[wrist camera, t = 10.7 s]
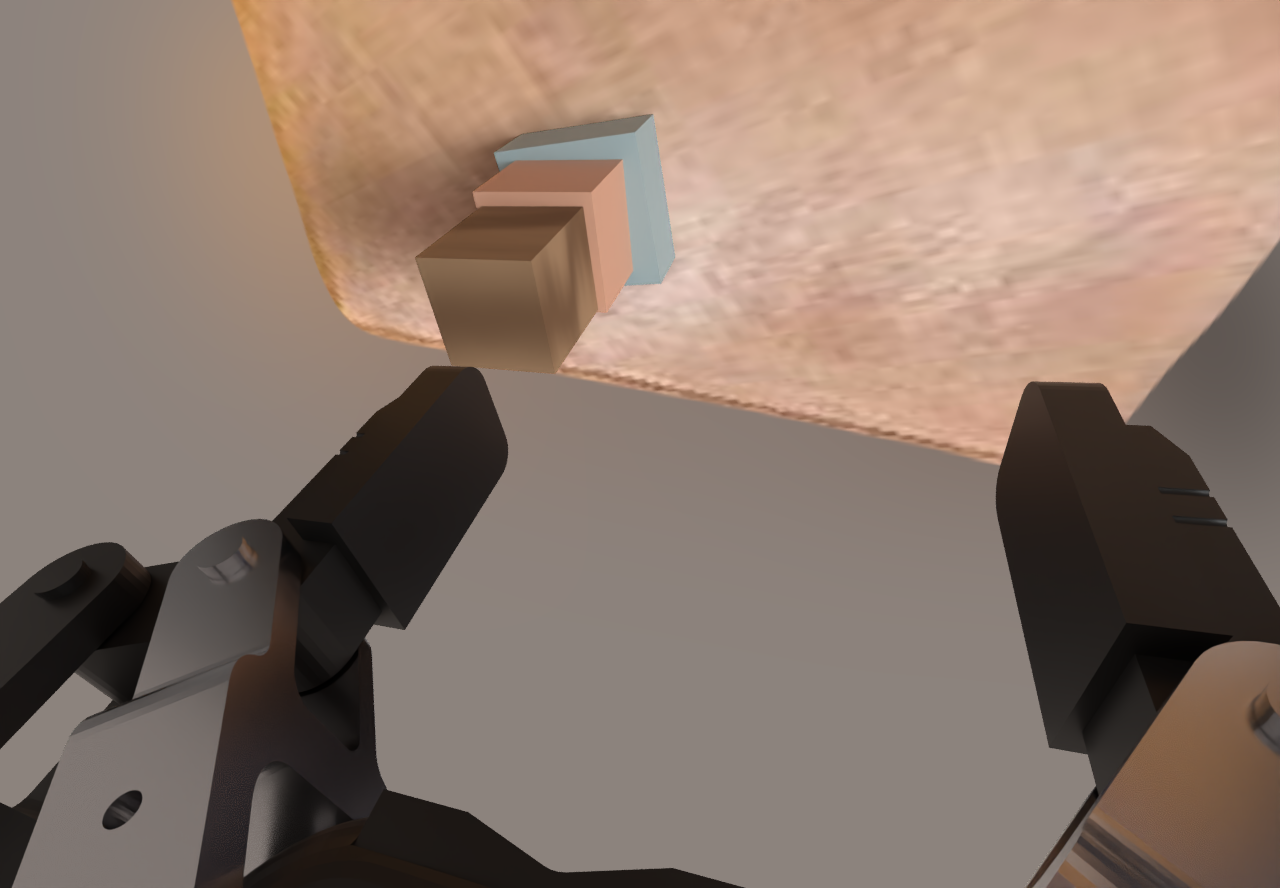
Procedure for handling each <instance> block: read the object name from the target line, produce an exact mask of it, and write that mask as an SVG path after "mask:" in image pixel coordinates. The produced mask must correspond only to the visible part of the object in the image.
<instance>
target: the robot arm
mask: <svg viewBox="0 0 1280 888" xmlns="http://www.w3.org/2000/svg"><path fill="white" fill-rule="evenodd" d="M507 458H508V444H507V439H506V436H505V433H504V430H503V428H502V425H501V422H500V420H499V417H498V414H497V412H496V409H495V406H494V403H493V401H492V398H491V395H490V393H489V390H488V387H487V385H486V382H485V380H484V377H483V375H482V374H481V373H480V371H479V370H477V369H476V368H474V367H460V366H430V367H428V368H426V369H425V370H424V371H423V372H422V373H421V374H420V375H419V377H418V378H417V379H416V380H415V381H414V382H413V383H412V384H411V385H410V386H409V387H408V388H407V389H406V391H405V392H404V393H403V394H402V395H401V396H400V397H399V398H397V399H395V400H394V401H392V402H391V403H389V404H388V405H386V406H385V407H383V408H382V409H380V410H379V411H377V412H376V413H375V414H374V415H373V416H372V417H371V418H370V419H369V420H368V421H367V422H366V423H365V425H363V426H362V427H361V428H360V430H359V431H358V432H357V436H356V437H352V438H351V439H350V440H349V441H348V442H347V443H346V445H344V446H343V447H342V448H341V449H340V455H335V456H334V457H333V458H332V459H331V460H330V461H329V462H328V463H327V464H326V465H325V466H324V467H323V468H322V469H321V470H320V472H319V473H318V474H317V475H316V476H315V477H314V478H313V479H312V480H311V481H310V482H309V483H308V484H307V485H306V486H305V487H304V488H303V489H302V490H301V492H300V493H299V494H298V495H297V496H296V497H295V498H294V499H293V500H292V501H291V502H290V503H289V504H288V505H287V506H286V507H285V508H284V509H283V511H282V512H281V513H280V514H279V515H278V516H277V517H276V518H275V519H274V520H273V521H270V520H266V519H251V520H247V521H242V522H238V523H235V524H232V525H230V526H227V527H225V528H223V529H221V530H219V531H217V532H215V533H213V534H211V535H210V536H208V537H206V538H205V539H204V540H202V541H201V542H199V543H198V544H197V545H195V546H194V547H193V548H192V549H191V550H190V551H189V552H188V553H187V554H186V555H185V556H184V557H183V558H182V559H181V560H180V561H179V562H174V563H168V564H161V565H155V566H150V567H143V566H142V565H141V564H140V563H139V562H138V561H137V560H136V559H135V558H134V557H133V556H132V555H131V554H130V553H129V552H128V551H126V549H124V547H122V546H121V545H119V544H117V543H112V542H111V543H110V542H109V543H99V544H94V545H90V546H86V547H83V548H81V549H78V550H75V551H73V552H71V553H69V554H66V555H65V556H63V557H61V558H59V559H57V560H55V561H54V562H52V563H50V564H49V565H47V566H46V567H44V568H43V569H41V570H40V571H38V572H37V573H36V574H35V575H33V576H32V577H31V578H30V579H28V580H27V581H26V582H25V583H24V584H23V585H21V586H20V587H19V588H18V589H17V590H16V591H14V592H13V593H12V594H11V595H10V596H8V597H7V598H6V599H5V600H4V601H3V602H1V603H0V749H1V748H2V747H3V746H4V745H5V743H6V742H7V741H8V740H9V739H10V738H11V737H12V736H13V735H14V734H15V733H16V732H17V731H18V730H19V729H20V728H21V727H22V726H23V725H24V724H25V723H26V722H27V721H28V720H29V719H30V718H31V717H32V716H33V714H34V713H35V712H36V711H37V710H38V709H39V708H40V707H41V706H42V705H43V704H44V703H45V702H46V701H47V700H48V699H49V698H50V697H51V696H52V695H53V694H54V693H55V691H57V690H58V689H59V688H60V687H61V685H63V683H64V682H65V681H66V680H67V679H68V678H69V677H70V676H71V675H72V674H73V673H74V672H75V673H76V674H78V675H79V676H80V677H82V678H83V679H85V680H86V681H87V682H89V683H90V684H92V685H93V686H94V687H96V688H97V689H99V690H100V691H101V692H103V693H104V694H105V695H107V696H108V697H110V698H111V699H112V700H113V701H112V702H111V703H110V704H109V705H108V706H107V707H106V709H105V710H104V711H102V712H99V713H96V714H94V715H92V716H90V717H87V718H86V719H85V720H83V721H82V722H81V723H80V724H79V725H78V726H77V727H76V728H75V729H74V731H73V732H72V733H71V735H70V736H69V739H68V741H67V743H66V745H65V747H64V750H63V753H62V756H61V758H60V761H59V762H58V763H57V764H56V765H55V766H54V768H52V770H51V771H50V772H49V773H48V774H47V775H46V777H45V778H44V779H43V780H42V781H41V782H40V783H39V784H38V786H37V787H36V788H35V789H34V790H33V791H32V792H31V793H30V794H29V795H28V796H27V797H26V798H25V799H24V800H23V801H22V802H20V803H19V804H17V805H16V806H14V807H13V808H11V807H8V806H6V805H4V804H2V803H0V888H744V887H740V886H736V885H733V884H729V883H725V882H721V881H718V880H714V879H711V878H707V877H703V876H700V875H696V874H692V873H688V872H685V871H681V870H678V869H674V868H665V869H640V870H616V871H591V872H569V873H565V872H556V871H553V870H550V869H548V868H547V867H545V866H543V865H542V864H540V863H539V862H538V861H536V860H535V859H533V858H532V857H531V856H529V855H528V854H526V853H525V852H523V851H522V850H521V849H519V848H518V847H516V846H515V845H514V844H512V843H511V842H509V841H508V840H507V839H505V838H504V837H502V836H501V835H499V834H498V833H497V832H495V831H494V830H492V829H491V828H490V827H488V826H487V825H485V824H484V823H482V822H481V821H480V820H478V819H477V818H476V817H474V816H473V815H471V814H470V813H468V812H465V811H462V810H458V809H454V808H451V807H447V806H444V805H440V804H436V803H433V802H429V801H425V800H422V799H418V798H414V797H411V796H407V795H403V794H400V793H396V792H392V791H388V790H387V788H386V786H385V784H384V781H383V779H382V777H381V774H380V771H379V767H378V763H377V756H376V735H375V713H374V689H373V668H372V651H371V647H370V644H369V642H368V641H367V640H366V639H365V636H366V635H367V633H368V632H369V630H370V629H371V627H372V626H373V624H375V625H380V626H386V627H392V628H397V629H402V630H405V629H406V627H407V626H408V624H409V622H410V621H411V619H412V618H413V616H414V614H415V613H416V611H417V610H418V608H419V606H420V605H421V603H422V602H423V600H424V598H425V597H426V595H427V594H428V592H429V591H430V589H431V587H432V586H433V584H434V582H435V581H436V579H437V578H438V576H439V575H440V573H441V571H442V570H443V568H444V567H445V565H446V563H447V562H448V560H449V558H450V557H451V555H452V554H453V552H454V551H455V549H456V547H457V546H458V544H459V543H460V541H461V539H462V538H463V536H464V535H465V533H466V532H467V530H468V528H469V527H470V525H471V524H472V522H473V520H474V519H475V517H476V516H477V514H478V512H479V511H480V509H481V508H482V506H483V504H484V503H485V501H486V499H487V498H488V496H489V494H490V493H491V492H492V490H493V488H494V487H495V485H496V484H497V482H498V480H499V479H500V477H501V476H502V474H503V472H504V470H505V467H506V464H507ZM1209 491H1210V490H1209V488H1208V486H1207V485H1206V483H1205V481H1204V480H1203V478H1202V476H1201V475H1200V473H1199V471H1198V470H1197V468H1196V466H1195V465H1194V463H1193V461H1192V460H1191V458H1190V456H1189V455H1187V454H1186V453H1185V452H1184V451H1182V450H1181V449H1180V448H1179V447H1177V446H1176V445H1175V444H1173V443H1172V442H1171V441H1170V440H1168V439H1167V438H1166V437H1164V436H1163V435H1162V434H1160V433H1159V432H1158V431H1157V430H1155V429H1154V428H1153V427H1151V426H1138V425H1126V424H1125V422H1124V421H1123V419H1122V417H1121V415H1120V413H1119V411H1118V409H1117V407H1116V405H1115V403H1114V401H1113V399H1112V397H1111V395H1110V393H1109V391H1108V390H1107V388H1106V387H1105V386H1104V385H1103V384H1101V383H1072V382H1030V383H1029V384H1028V385H1027V386H1026V388H1025V389H1024V392H1023V394H1022V397H1021V400H1020V403H1019V407H1018V410H1017V413H1016V416H1015V420H1014V423H1013V426H1012V429H1011V433H1010V436H1009V439H1008V443H1007V446H1006V449H1005V452H1004V456H1003V459H1002V462H1001V465H1000V469H999V473H998V478H997V485H996V510H997V517H998V522H999V526H1000V531H1001V535H1002V539H1003V544H1004V548H1005V553H1006V557H1007V562H1008V566H1009V571H1010V575H1011V580H1012V584H1013V588H1014V593H1015V597H1016V602H1017V606H1018V611H1019V615H1020V619H1021V624H1022V629H1023V633H1024V637H1025V642H1026V646H1027V651H1028V655H1029V660H1030V664H1031V668H1032V673H1033V678H1034V682H1035V686H1036V691H1037V695H1038V700H1039V704H1040V709H1041V713H1042V718H1043V722H1044V727H1045V731H1046V735H1047V740H1048V744H1049V747H1050V748H1055V749H1061V750H1066V751H1071V752H1077V753H1083V754H1088V757H1089V760H1090V764H1091V768H1092V771H1093V775H1094V779H1095V783H1096V786H1095V788H1094V789H1093V790H1092V791H1091V793H1090V794H1089V795H1088V797H1087V798H1086V800H1085V801H1084V802H1083V804H1082V805H1081V807H1080V808H1079V810H1078V811H1077V813H1076V814H1075V815H1074V817H1073V818H1072V820H1071V821H1070V823H1069V824H1068V825H1067V827H1066V828H1065V830H1064V831H1063V833H1062V834H1061V835H1060V837H1059V838H1058V840H1057V841H1056V843H1055V844H1054V845H1053V847H1052V849H1051V850H1050V851H1049V853H1048V854H1047V855H1046V857H1045V858H1044V860H1043V861H1042V863H1041V864H1040V865H1039V867H1038V868H1037V870H1036V871H1035V873H1034V874H1033V876H1032V877H1031V878H1030V880H1029V881H1028V883H1027V884H1026V886H1025V887H1024V888H1280V607H1279V605H1278V604H1277V602H1276V600H1275V599H1274V597H1273V595H1272V594H1271V592H1270V590H1269V588H1268V587H1267V585H1266V583H1265V582H1264V580H1263V578H1262V577H1261V575H1260V573H1259V572H1258V570H1257V568H1256V567H1255V565H1254V564H1253V562H1252V560H1251V558H1250V557H1249V555H1248V553H1247V552H1246V550H1245V548H1244V547H1243V545H1242V543H1241V542H1240V540H1239V539H1238V537H1237V535H1236V533H1235V532H1234V530H1233V528H1230V527H1227V524H1226V523H1227V518H1226V516H1225V515H1224V513H1223V512H1222V510H1221V508H1220V506H1219V505H1218V503H1217V501H1216V500H1215V498H1214V497H1209Z"/></svg>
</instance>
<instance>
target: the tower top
mask: <svg viewBox="0 0 1280 888" xmlns="http://www.w3.org/2000/svg"><path fill="white" fill-rule="evenodd" d="M472 193H473V197H474V201H475V205H476V208H477V210H478V209H479V208H480V207H481V206H581V207H583V209H584V216H585V223H586V230H587V237H588V243H589V250H590V257H591V264H592V271H593V277H594V284H595V291H596V298H597V305H598V310H597V312H604V313H607V312H608V310H609V308H610V307H611V305H612V304H613V302H614V301H615V299H616V297H617V296H618V294H619V293H620V291H621V289H622V288H623V286H624V285H625V283H626V281H627V280H628V278H629V277H630V275H631V273H632V272H633V263H632V253H631V242H630V232H629V221H628V210H627V200H626V189H625V178H624V168H623V159H608V160H515V161H514V162H513V163H511V164H510V165H509V166H507V167H506V168H504V169H503V170H502V171H500V172H499V173H498V174H496V175H495V176H493V177H492V178H491V179H489V180H488V181H486V182H485V183H484V184H482V185H481V186H480V187H478V188H477V189H475V190H474V191H473V192H472Z"/></svg>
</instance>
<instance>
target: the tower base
mask: <svg viewBox="0 0 1280 888" xmlns="http://www.w3.org/2000/svg"><path fill="white" fill-rule="evenodd" d="M494 155H495V158H496V162H497V165H498V168H499V171H502V170H503V169H504V168H506V167H507V166H509V165H510V164H511V163H513V162H514V161H515V160H608V159H623V168H624V178H625V189H626V200H627V210H628V221H629V232H630V242H631V253H632V263H633V272H632V273H631V275H630V277H629V278H628V280H627V281H626V283H625V285H624V286H627V285H644V284H661V283H662V281H663V279H664V277H665V275H666V273H667V272H668V270H669V268H670V266H671V264H672V262H673V260H674V258H675V252H674V246H673V239H672V233H671V226H670V220H669V213H668V207H667V200H666V194H665V187H664V181H663V174H662V168H661V161H660V155H659V148H658V141H657V135H656V128H655V122H654V115H653V114H651V115H645V116H638V117H632V118H625V119H618V120H612V121H605V122H599V123H592V124H586V125H579V126H573V127H566V128H560V129H553V130H546V131H540V132H533V133H527V134H521V135H520V136H518V137H517V138H515V139H514V140H512V141H511V142H509V143H508V144H506V145H505V146H503V147H502V148H500V149H498V150H497V151H495V152H494Z"/></svg>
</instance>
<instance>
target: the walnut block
mask: <svg viewBox="0 0 1280 888" xmlns="http://www.w3.org/2000/svg"><path fill="white" fill-rule="evenodd" d="M415 259H416V262H417V265H418V268H419V271H420V274H421V277H422V280H423V283H424V286H425V289H426V292H427V295H428V298H429V300H430V303H431V306H432V309H433V312H434V315H435V318H436V321H437V324H438V327H439V330H440V333H441V336H442V339H443V342H444V345H445V348H446V350H447V353H448V356H449V359H450V362H451V365H452V366H464V367H477V368H489V369H501V370H513V371H526V372H538V373H550V374H555V373H556V372H557V370H558V369H559V367H560V366H561V364H562V363H563V361H564V360H565V358H566V357H567V355H568V354H569V352H570V351H571V349H572V348H573V346H574V345H575V343H576V342H577V340H578V339H579V337H580V336H581V334H582V333H583V331H584V330H585V328H586V327H587V325H588V324H589V322H590V321H591V319H592V318H593V316H594V315H595V313H596V312H597V310H598V305H597V298H596V291H595V284H594V277H593V271H592V264H591V257H590V250H589V243H588V237H587V230H586V223H585V216H584V209H583V207H581V206H481V207H480V208H479V209H478V210H476V211H475V212H474V213H472V214H471V215H470V216H468V217H467V218H466V219H465V220H463V221H462V222H461V223H459V224H458V225H457V226H455V227H454V228H453V229H452V230H450V231H449V232H448V233H446V234H445V235H444V236H442V237H441V238H440V239H439V240H437V241H436V242H435V243H433V244H432V245H431V246H429V247H428V248H427V249H426V250H424V251H423V252H422V253H420V254H419V255H418V256H416V257H415Z"/></svg>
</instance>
